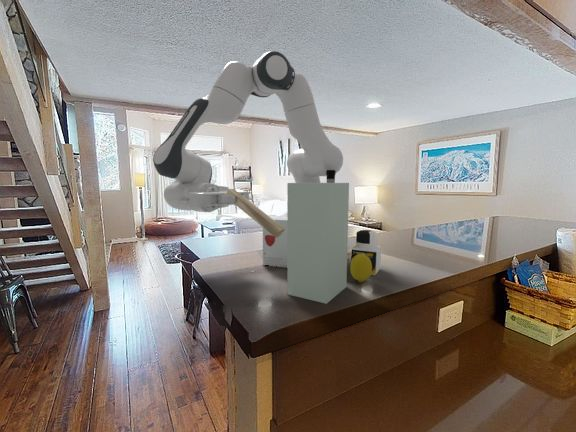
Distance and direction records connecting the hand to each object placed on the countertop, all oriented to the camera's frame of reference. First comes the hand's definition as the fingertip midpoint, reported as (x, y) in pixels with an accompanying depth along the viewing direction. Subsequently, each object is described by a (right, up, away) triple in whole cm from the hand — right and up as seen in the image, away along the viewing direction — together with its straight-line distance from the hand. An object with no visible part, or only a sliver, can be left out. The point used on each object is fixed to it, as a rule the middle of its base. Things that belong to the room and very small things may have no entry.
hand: (240, 199), depth 81 cm
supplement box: (+11, -20, +14) cm, 27 cm away
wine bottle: (+27, -20, +17) cm, 38 cm away
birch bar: (+4, -5, -2) cm, 6 cm away
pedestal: (+21, -23, -10) cm, 32 cm away
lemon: (+32, -22, -4) cm, 39 cm away
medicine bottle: (+36, -21, +6) cm, 42 cm away
